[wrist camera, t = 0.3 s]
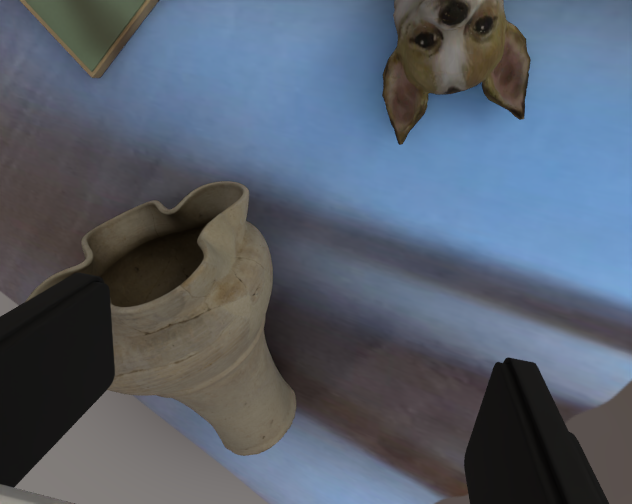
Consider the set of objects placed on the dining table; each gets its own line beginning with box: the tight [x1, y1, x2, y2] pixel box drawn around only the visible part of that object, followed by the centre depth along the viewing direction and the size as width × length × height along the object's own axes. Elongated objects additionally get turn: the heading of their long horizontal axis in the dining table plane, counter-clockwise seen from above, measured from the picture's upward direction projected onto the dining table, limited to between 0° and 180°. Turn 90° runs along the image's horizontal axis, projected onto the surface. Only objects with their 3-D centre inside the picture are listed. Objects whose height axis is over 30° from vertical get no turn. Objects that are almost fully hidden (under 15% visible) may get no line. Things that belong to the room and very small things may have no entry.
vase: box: [25, 181, 296, 456], centre depth 40 cm, size 22×22×28 cm
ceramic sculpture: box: [382, 0, 531, 145], centre depth 31 cm, size 11×9×15 cm
